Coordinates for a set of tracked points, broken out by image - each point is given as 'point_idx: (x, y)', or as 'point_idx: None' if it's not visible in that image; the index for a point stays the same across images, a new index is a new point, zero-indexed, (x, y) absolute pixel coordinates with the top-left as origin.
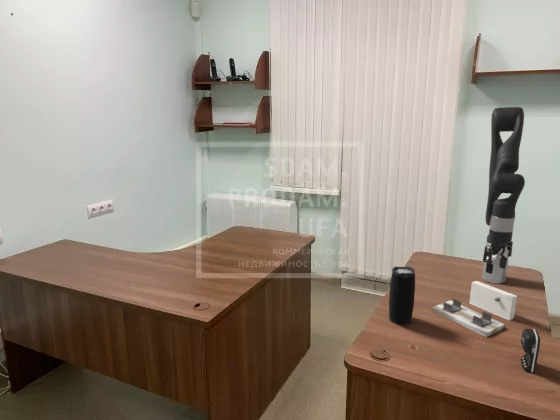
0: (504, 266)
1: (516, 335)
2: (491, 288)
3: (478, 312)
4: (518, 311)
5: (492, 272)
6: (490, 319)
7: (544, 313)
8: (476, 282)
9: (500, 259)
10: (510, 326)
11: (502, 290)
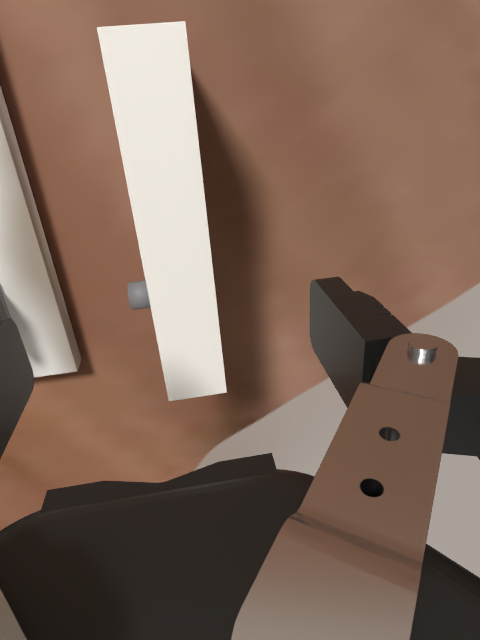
0: (321, 355)
1: (80, 416)
2: (166, 233)
3: (31, 225)
4: (302, 280)
5: (30, 392)
6: None
7: None
8: (144, 59)
9: (353, 337)
10: (123, 360)
11: (215, 297)
